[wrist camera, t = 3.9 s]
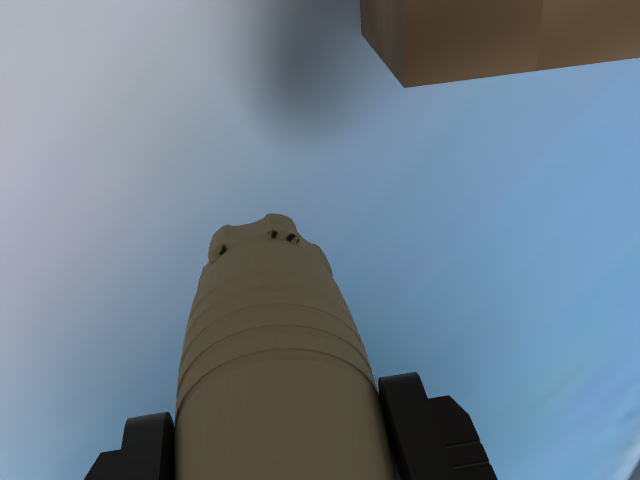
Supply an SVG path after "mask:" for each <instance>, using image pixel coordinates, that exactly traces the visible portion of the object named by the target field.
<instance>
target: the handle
mask: <svg viewBox="0 0 640 480" xmlns="http://www.w3.org/2000/svg"><path fill="white" fill-rule="evenodd" d="M208 258H209V263H208V264H207V265H206V266H205V267H204V268H203V271H202V273H201V276H200V279H199V284H198V289H197V293H196V296H195V299H194V301H193V304H192V308H191V312H190V316H189V320H188V324H187V329H186V334H185V340H184V345H183V351H182V356H181V362H180V368H179V378H178V386H177V403H176V414H175V433H174V461H175V480H397V475H396V471H395V466H394V461H393V456H392V452H391V447H390V442H389V437H388V433H387V428H386V423H385V419H384V414H383V410H382V405H381V403H380V401H379V395H378V391H377V388H376V384H375V381H374V378H373V375H372V371H371V367H370V364H369V361H368V357H367V355H366V352H365V348H364V346H363V343H362V340H361V338H360V335H359V333H358V331H357V328H356V325H355V323H354V320H353V318H352V316H351V314H350V311H349V309H348V307H347V304H346V302H345V300H344V298H343V296H342V294H341V292H340V290H339V288H338V286H337V284H336V282H335V281H334V279H333V274H332V271H331V267H330V265H329V263H328V260H327V258H326V256H325V254H324V253H323V251H322V250H321V248H320V247H319V246H317V245H316V244H311V243H309V242H308V241H306V240H305V239H304V238H302V237H301V235H300V234H299V233H298V232H297V229H296V227H295V224H294V223H293V221H292V219H290V218H289V217H287V216H284V215H281V214H267V215H266V216H265V217H264V218H263V219H261V220H259V221H257V222H254V223H251V224H246V225H241V226H230V225H225V226H223V227H221V228H220V229H219V230H218V231H217V232H216V233H215V234H214V235H213V237H212V240H211V243H210V247H209V253H208Z"/></svg>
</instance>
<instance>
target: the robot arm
mask: <svg viewBox="0 0 640 480" xmlns="http://www.w3.org/2000/svg"><path fill="white" fill-rule="evenodd" d="M378 387H379V401H380V403H381V405H382V410H383V414H384V419H385V423H386V428H387V433H388V437H389V442H390V447H391V452H392V456H393V461H394V466H395V471H396V475H397V480H497V477H496V475H495V473H494V470H493V468H492V466H491V465H490V464H489V459H488V457H487V455H486V452H485V450H484V448H483V445H482V444H481V443H480V439H479V436H478V434H477V432H476V430H475V427H474V425H473V423H472V421H471V418H470V416H469V414H468V413H467V412H466V411H465V410H464V409H463V408H461V407H460V406H459V405H458V404H457V403H456V402H455V401H454V400H453V399H452V398H451V397H450V396H449V395H448V396H442V397H436V398H430V399H428V398H427V395H426V393H425V390H424V387H423V385H422V382H421V379H420V377H419V375H418V374H417V372H412V373H406V374H400V375H394V376H388V377H382V378H379V380H378ZM174 433H175V426H174V423H173V420H172V417H171V415H170V413H169V412H164V413H157V414H151V415H145V416H139V417H133V418H128V419H127V421H126V424H125V429H124V435H123V441H122V447H121V449H120V450H114V451H108V452H102V453H100V455H99V456H98V458H97V460H96V461H95V463H94V464H93V466H92V467H91V469H90V471H89V472H88V474H87V475H86V477H85V479H84V480H175V461H174Z"/></svg>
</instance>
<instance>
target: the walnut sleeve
mask: <svg viewBox="0 0 640 480" xmlns="http://www.w3.org/2000/svg"><path fill="white" fill-rule="evenodd" d="M360 8H361V28H362V35H363V37H364V38H365V39H366V40H367V42H368V43H369V44H370V45H371V47H372V48H373V49H374V50H375V52H376V53H377V54H378V55H379V57H380V58H381V59H382V60H383V62H384V63H385V64H386V66H387V67H388V68H389V69H390V71H391V72H392V73H393V74H394V76H395V77H396V78H397V79H398V81H399V82H400V83H401V84H402V86H403V87H404V88H407V87H415V86H422V85H430V84H438V83H446V82H453V81H461V80H469V79H477V78H484V77H492V76H500V75H508V74H515V73H523V72H531V71H539V70H546V69H554V68H562V67H570V66H578V65H585V64H593V63H601V62H609V61H616V60H624V59H632V58H640V0H360Z"/></svg>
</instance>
